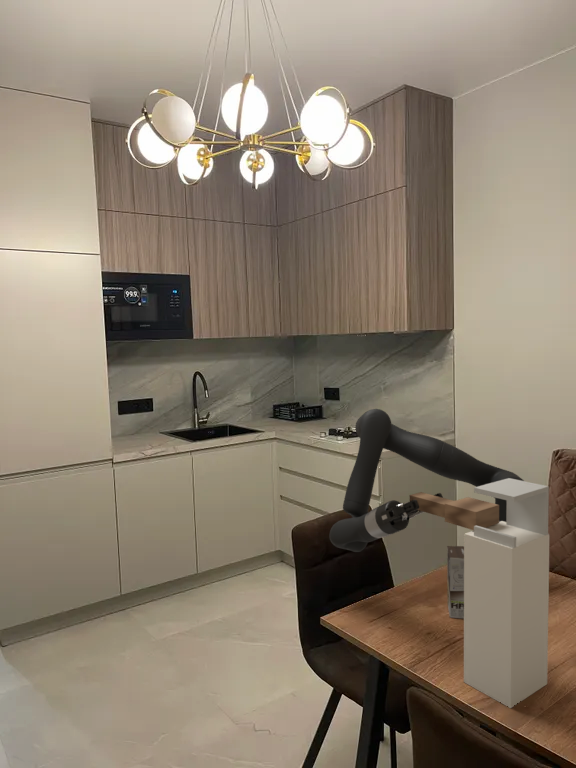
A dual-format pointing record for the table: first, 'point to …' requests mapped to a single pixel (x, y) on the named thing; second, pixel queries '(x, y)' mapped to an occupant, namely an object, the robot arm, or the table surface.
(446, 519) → the wooden plank block
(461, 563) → the coffee box
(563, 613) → the table surface
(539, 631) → the stand
